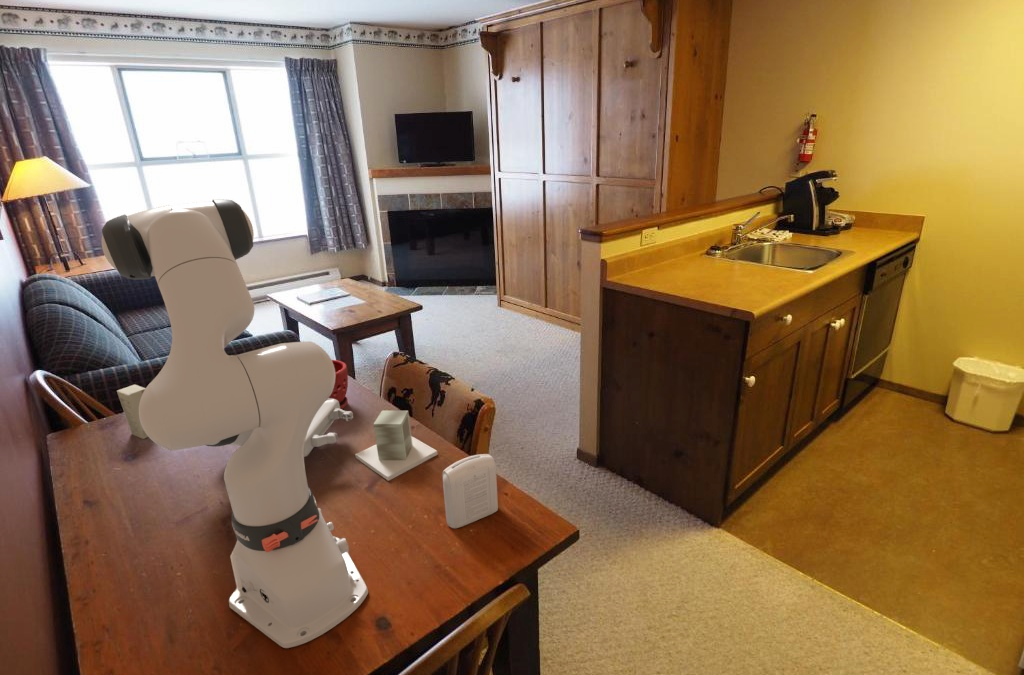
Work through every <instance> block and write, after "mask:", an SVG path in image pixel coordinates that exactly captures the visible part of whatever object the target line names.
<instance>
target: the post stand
mask: <svg viewBox="0 0 1024 675" xmlns="http://www.w3.org/2000/svg"><path fill="white" fill-rule="evenodd" d="M411 437H412V445H413V446H412V448H411V450H410V452H409V454H408V456H407V459H406V460H379V457H378V451H377V444H376V443H375V444H374V445H372V446H370V447H368V448H365V449H363V450H361V451H359V452H357V453H355V454H354V455H355V458H356V460H358V461H359V462H360V463H362V464H364V465H365V466H367V467H368V468H369V469H371V470H372V471H373V472H375V473H376V474H377V475H379V476H380V477H382V478H384V479H385V481H388V482H389V481H391V480H393V479H395V478H397V477H399V476H400V475H402V474H405V473H406V472H407V471H410V470H412V469H413V468H415V467H418V466H419V465H420V464H423V463H425V462H426V461H428V460H430V459H432V458H433V457H436V456H437V455H438V450H436V449H435V448H433V447H431V446H430V445H428V444H426V443H425V442H422V441H421V440H420V439H418V438H416V437H414V436H412V435H411Z"/></svg>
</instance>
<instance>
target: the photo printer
mask: <svg viewBox="0 0 1024 675" xmlns="http://www.w3.org/2000/svg"><path fill="white" fill-rule="evenodd" d="M496 465H497V464H496V462H495V459H494V458H493V456H492V455H491V454H489V453H483V454H482V453H479V454H474V455H470V456H467V457H465V458H462V459H460V460H457V461H455V462H454V463H452V464H450V465H449V466H447V467H445V469H444V470H443V471H442V476H441V479H442V488H443V498H444V499H443V500H444V510H445V517H446V524H447V526H448V527H450V528H451V529H458V528H462V527H465V526H468V525H469V524H472V523H474V522H477V521H478V520H480V519H483V518H485V517H488V516H491V515H493V514H495V513H496V512H497V511H498V510H499V501H498V500H499V499H498V484H497V467H496Z"/></svg>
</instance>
